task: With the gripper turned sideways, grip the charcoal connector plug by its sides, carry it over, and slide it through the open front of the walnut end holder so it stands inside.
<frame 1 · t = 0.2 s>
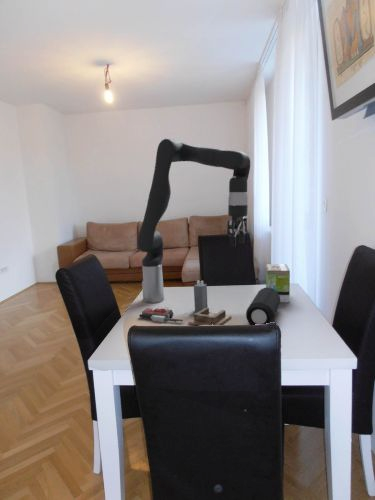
hand: (237, 244, 142), 28 cm above the table, tool pointing down, fingers open, 8 cm apart
tea box: (277, 298, 164), on the table
end holder: (210, 320, 139), on the table
connector plug: (201, 309, 152), on the table
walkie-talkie: (163, 319, 145), on the table
portable speaker: (264, 319, 138), on the table
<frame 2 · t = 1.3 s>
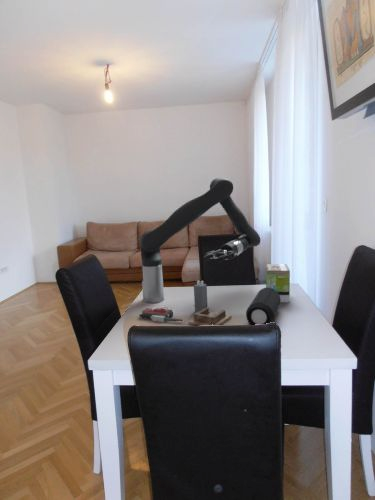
hand: (211, 259, 157), 20 cm above the table, tool horizontal, fingers open, 8 cm apart
nothing on the table moved.
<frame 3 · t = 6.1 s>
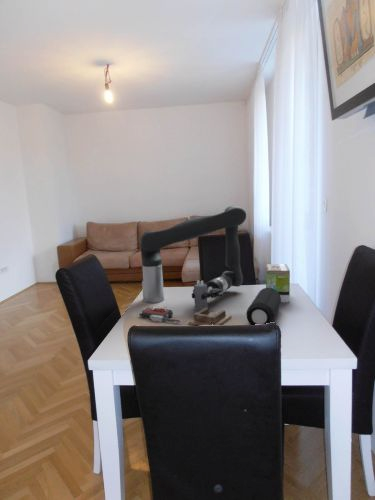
hand: (197, 296, 149), 7 cm above the table, tool horizontal, fingers closed on connector plug, 4 cm apart
connector plug: (201, 309, 152), on the table, touching gripper
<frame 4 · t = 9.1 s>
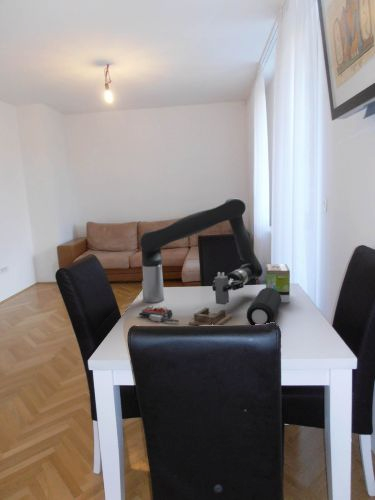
hand: (218, 289, 143), 11 cm above the table, tool horizontal, fingers closed on connector plug, 4 cm apart
connector plug: (222, 302, 146), point 4 cm above the table, touching gripper
everything else where it was.
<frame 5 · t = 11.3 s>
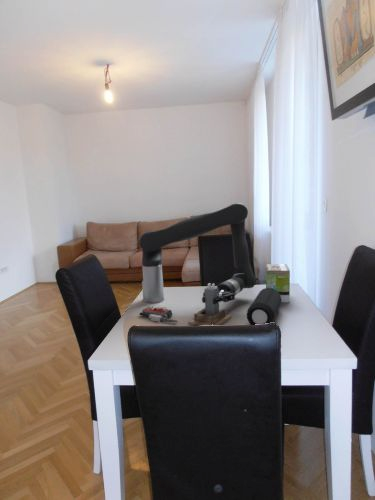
hand: (208, 300, 137), 8 cm above the table, tool horizontal, fingers closed on connector plug, 4 cm apart
connector plug: (212, 315, 140), point 2 cm above the table, touching gripper
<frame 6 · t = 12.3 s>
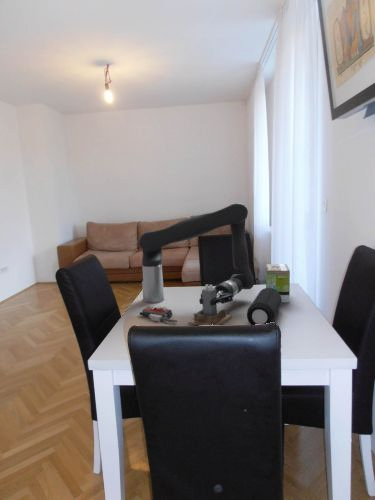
hand: (205, 302, 135), 8 cm above the table, tool horizontal, fingers closed on connector plug, 4 cm apart
connector plug: (210, 316, 138), point 2 cm above the table, touching gripper
when the fingers open (8 cm above the table, at t = 12.8 s): connector plug stays where it is, resting on end holder.
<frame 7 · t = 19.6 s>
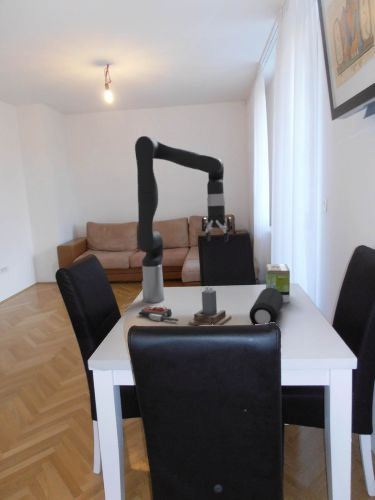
hand: (217, 241, 158), 28 cm above the table, tool pointing down, fingers open, 8 cm apart
connector plug: (210, 318, 139), point 1 cm above the table, touching end holder
at the end: connector plug 0.5 cm off-centre on the end holder, point 1.0 cm above the end holder's base; connector plug tilted 0°; the gripper is holding nothing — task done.
